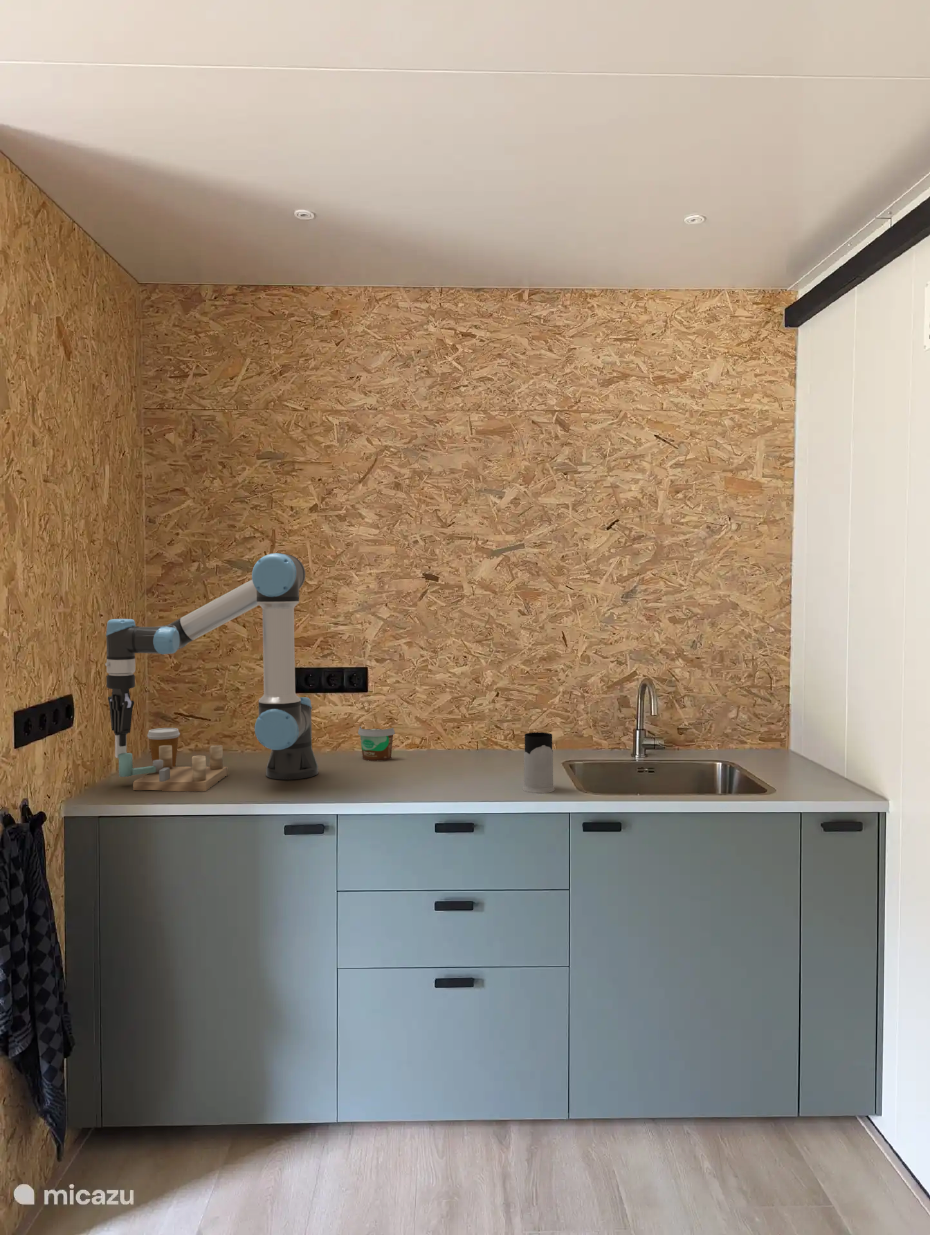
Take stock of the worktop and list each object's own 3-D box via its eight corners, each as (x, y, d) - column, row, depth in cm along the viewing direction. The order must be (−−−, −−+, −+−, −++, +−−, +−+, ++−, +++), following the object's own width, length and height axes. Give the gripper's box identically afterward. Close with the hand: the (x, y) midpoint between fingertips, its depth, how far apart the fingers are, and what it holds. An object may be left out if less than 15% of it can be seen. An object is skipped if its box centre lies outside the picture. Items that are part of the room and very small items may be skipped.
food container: (351, 760, 289) (351, 729, 288) (359, 756, 294) (359, 726, 294) (388, 762, 285) (387, 730, 285) (395, 758, 291) (395, 727, 290)
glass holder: (529, 794, 243) (528, 738, 242) (511, 782, 256) (511, 729, 256) (559, 791, 245) (559, 736, 244) (540, 780, 259) (540, 728, 258)
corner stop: (170, 778, 253) (169, 767, 253) (164, 781, 249) (164, 770, 249) (164, 778, 254) (164, 767, 253) (159, 781, 250) (159, 770, 249)
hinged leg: (161, 769, 263) (160, 748, 263) (165, 771, 260) (164, 750, 260) (117, 775, 256) (116, 753, 255) (121, 777, 253) (120, 755, 253)
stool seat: (227, 775, 269) (227, 744, 268) (205, 791, 249) (204, 758, 248) (160, 774, 269) (160, 744, 269) (133, 790, 249) (132, 758, 249)
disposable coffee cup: (185, 766, 282) (184, 727, 281) (172, 772, 272) (172, 733, 272) (156, 765, 283) (155, 727, 282) (142, 772, 273) (141, 732, 273)
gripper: (98, 672, 258) (98, 755, 259) (116, 676, 248) (116, 762, 249) (125, 671, 263) (125, 752, 264) (143, 675, 253) (143, 759, 254)
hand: (120, 757), depth 257 cm, fingers closed
